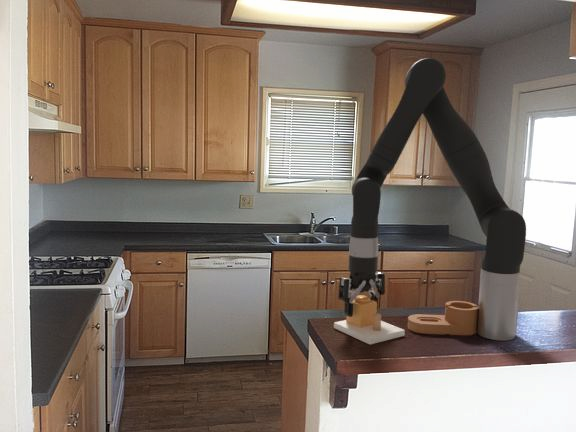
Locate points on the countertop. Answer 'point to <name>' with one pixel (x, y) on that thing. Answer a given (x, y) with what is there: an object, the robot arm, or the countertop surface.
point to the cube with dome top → (362, 311)
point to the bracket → (447, 320)
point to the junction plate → (371, 330)
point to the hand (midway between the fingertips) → (361, 313)
